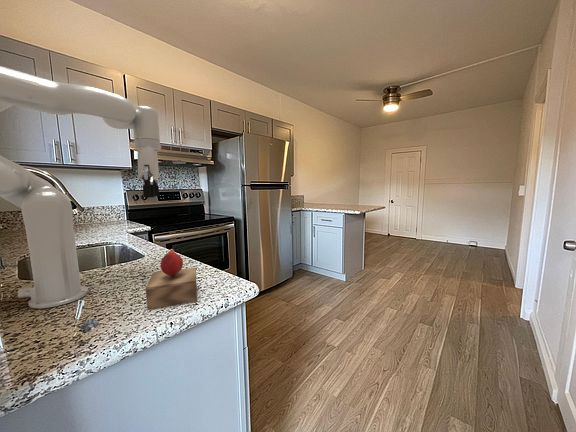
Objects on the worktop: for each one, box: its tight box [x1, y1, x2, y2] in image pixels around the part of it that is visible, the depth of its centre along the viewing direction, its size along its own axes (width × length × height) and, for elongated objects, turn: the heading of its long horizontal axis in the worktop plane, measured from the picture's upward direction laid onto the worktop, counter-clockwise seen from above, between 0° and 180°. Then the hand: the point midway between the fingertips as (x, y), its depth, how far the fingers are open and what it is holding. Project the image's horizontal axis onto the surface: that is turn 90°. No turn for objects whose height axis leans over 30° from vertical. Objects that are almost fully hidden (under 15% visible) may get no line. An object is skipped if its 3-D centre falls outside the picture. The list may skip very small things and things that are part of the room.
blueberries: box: [70, 318, 100, 334], centre depth 56 cm, size 7×8×2 cm
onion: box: [160, 248, 184, 277], centre depth 70 cm, size 6×6×8 cm
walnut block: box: [145, 266, 198, 311], centre depth 71 cm, size 12×12×6 cm
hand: (151, 196), depth 85 cm, fingers open, 9 cm apart
